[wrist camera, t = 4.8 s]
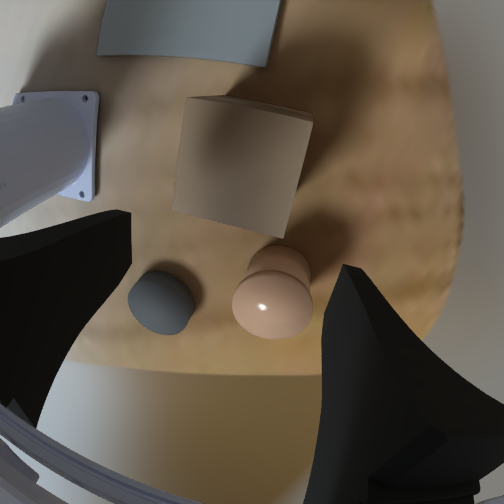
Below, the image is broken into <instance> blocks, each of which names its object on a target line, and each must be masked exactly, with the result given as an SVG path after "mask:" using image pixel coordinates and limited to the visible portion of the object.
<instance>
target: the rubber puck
mask: <svg viewBox="0 0 504 504" xmlns="http://www.w3.org/2000/svg"><path fill="white" fill-rule="evenodd" d="M128 304H129V308H130V310H131V312H132V314H133V315H134V317H135V318H136V319H137V320H138V321H139V322H140V323H141V324H142V325H143V326H144V327H146V328H147V329H149V330H151V331H153V332H155V333H158V334H163V335H174V334H178V333H180V332H181V331H182V330H183V329H184V328H185V327H186V325H187V323H188V321H189V319H190V317H191V315H192V313H193V311H194V299H193V296H192V294H191V292H190V290H189V289H188V288H187V286H186V285H185V284H184V283H183V282H182V281H181V280H179V279H178V278H176V277H175V276H173V275H171V274H168V273H166V272H161V271H152V272H148V273H146V274H144V275H143V276H142V277H141V278H140V279H139V280H138V281H137V283H136V284H135V285H134V286H133V287H132V289H131V290H130V292H129V295H128Z"/></svg>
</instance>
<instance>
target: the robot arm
mask: <svg viewBox="0 0 504 504" xmlns="http://www.w3.org/2000/svg"><path fill="white" fill-rule="evenodd" d="M86 96H87V97H88V100H87V101H86ZM24 98H25V100H24ZM98 106H99V95H98V93H97V92H95V91H45V92H25V93H16V94H15V95H14V97H13V105H11V106H6V107H2V108H0V228H1V227H2V226H4V225H6V224H7V223H9V222H10V221H12V220H13V219H15V218H17V217H18V216H20V215H21V214H23V213H25V212H26V211H28V210H30V209H31V208H33V207H35V206H36V205H38V204H40V203H42V202H43V201H45V200H47V199H49V198H50V197H52V196H54V195H56V194H58V195H62V196H66V197H70V198H74V199H78V200H83V201H87V202H90V201H92V200H93V199H94V198H95V153H96V132H97V118H98ZM83 192H84V194H85V196H84V195H83ZM131 264H132V245H131V213H130V212H125V211H121V210H109V211H104V212H100V213H96V214H93V215H89V216H86V217H82V218H79V219H75V220H72V221H69V222H65V223H62V224H58V225H55V226H51V227H48V228H44V229H41V230H37V231H33V232H29V233H25V234H20V235H15V236H10V237H3V238H0V435H2V436H3V437H4V438H6V439H7V440H8V441H10V442H11V443H12V444H14V445H15V446H16V447H18V448H19V449H20V450H22V451H23V452H25V453H26V454H27V455H29V456H30V457H32V458H33V459H35V460H36V461H38V462H39V463H41V464H42V465H44V466H46V467H47V468H49V469H51V470H52V471H54V472H55V473H57V474H59V475H60V476H62V477H64V478H65V479H67V480H69V481H71V482H72V483H74V484H76V485H78V486H80V487H82V488H84V489H86V490H88V491H89V492H91V493H93V494H95V495H97V496H99V497H102V498H104V499H106V500H108V501H110V502H112V503H114V504H204V503H200V502H197V501H193V500H190V499H186V498H183V497H180V496H177V495H174V494H171V493H168V492H165V491H162V490H159V489H156V488H153V487H151V486H148V485H145V484H143V483H140V482H138V481H135V480H133V479H130V478H128V477H125V476H123V475H121V474H119V473H117V472H114V471H112V470H110V469H108V468H106V467H103V466H101V465H99V464H97V463H95V462H93V461H91V460H89V459H87V458H85V457H83V456H81V455H79V454H78V453H76V452H74V451H72V450H70V449H69V448H67V447H65V446H63V445H61V444H60V443H58V442H56V441H55V440H53V439H51V438H50V437H48V436H46V435H45V434H43V433H42V432H40V431H38V430H37V429H36V427H37V424H38V420H39V417H40V414H41V411H42V409H43V406H44V403H45V400H46V397H47V395H48V393H49V390H50V388H51V386H52V383H53V381H54V379H55V376H56V374H57V372H58V371H59V368H60V366H61V364H62V362H63V361H64V359H65V357H66V355H67V353H68V352H69V350H70V348H71V346H72V345H73V343H74V341H75V340H76V338H77V336H78V335H79V333H80V332H81V331H82V329H83V328H84V326H85V325H86V324H87V323H88V321H89V320H90V319H91V318H92V316H93V315H94V314H95V313H96V312H97V310H98V309H99V308H100V307H101V305H102V304H103V303H104V302H105V301H106V299H107V298H108V297H109V296H110V295H111V293H112V292H113V291H114V290H115V289H116V287H117V286H118V285H119V283H120V282H121V280H122V279H123V277H124V276H125V274H126V272H127V271H128V269H129V267H130V266H131ZM321 346H322V408H321V416H320V424H319V431H318V437H317V443H316V449H315V455H314V460H313V465H312V470H311V474H310V478H309V483H308V487H307V491H306V495H305V499H304V502H303V504H474V497H473V495H476V494H478V493H479V492H480V483H479V480H480V479H481V478H483V477H484V476H486V475H487V474H489V473H490V472H492V471H493V470H495V469H496V468H497V467H499V466H500V465H501V464H503V463H504V404H502V403H500V402H499V401H497V400H495V399H494V398H492V397H490V396H489V395H487V394H485V393H484V392H482V391H481V390H480V389H478V388H477V387H475V386H474V385H473V384H471V383H470V382H468V381H467V380H466V379H464V378H463V377H462V376H460V375H459V374H458V373H457V372H455V371H454V370H453V369H452V368H451V367H449V366H448V365H447V364H446V363H445V362H444V361H442V360H441V359H440V358H439V357H438V356H437V355H436V354H435V353H433V352H432V351H431V350H430V349H429V348H428V347H427V346H426V345H425V344H424V343H423V342H422V341H421V340H420V339H419V338H418V337H417V336H416V335H415V333H414V332H413V331H412V330H411V329H410V328H409V327H408V326H407V324H406V323H405V322H404V321H403V320H402V319H401V318H400V316H399V315H398V314H397V313H396V311H395V310H394V309H393V308H392V307H391V305H390V304H389V303H388V301H387V300H386V299H385V298H384V296H383V295H382V294H381V292H380V291H379V290H378V289H377V287H376V286H375V285H374V283H373V282H372V281H371V279H370V278H369V277H368V276H367V275H366V273H365V272H364V271H363V270H362V269H361V268H357V267H353V266H349V265H345V264H343V266H342V268H341V271H340V274H339V276H338V279H337V282H336V284H335V287H334V289H333V292H332V295H331V297H330V300H329V302H328V305H327V307H326V310H325V312H324V319H323V328H322V338H321ZM38 479H39V475H38V473H37V472H35V471H34V470H33V469H32V468H30V467H29V466H28V465H27V464H26V463H24V462H23V461H22V460H21V459H20V458H19V457H18V456H17V455H16V454H15V453H14V452H13V451H12V450H11V449H10V448H9V446H8V445H7V444H6V443H5V442H4V441H3V440H2V439H0V504H68V503H67V502H65V501H63V500H61V499H60V498H58V497H56V496H55V495H53V494H52V493H50V492H48V491H47V490H45V489H44V488H42V487H41V486H39V485H38V484H36V482H37V481H38ZM477 504H504V495H502V496H499V497H495V498H491V499H488V500H485V501H482V502H479V503H477Z"/></svg>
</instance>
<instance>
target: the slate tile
mask: <svg viewBox="0 0 504 504" xmlns="http://www.w3.org/2000/svg"><path fill="white" fill-rule="evenodd" d="M281 1H282V0H107V1H106V5H105V10H104V14H103V19H102V24H101V29H100V34H99V39H98V45H97V51H96V56H113V55H144V56H170V57H185V58H196V59H206V60H215V61H223V62H231V63H238V64H244V65H251V66H257V67H262V68H267V64H268V59H269V55H270V50H271V45H272V41H273V36H274V32H275V28H276V23H277V19H278V14H279V10H280V6H281Z"/></svg>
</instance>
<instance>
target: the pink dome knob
mask: <svg viewBox="0 0 504 504" xmlns="http://www.w3.org/2000/svg"><path fill="white" fill-rule="evenodd" d="M310 276H311V273H310V267H309V264H308V262H307V260H306V259H305V257H304V256H303V255H302V254H301V253H299V252H298V251H296V250H295V249H293V248H290V247H287V246H282V245H273V246H268V247H265V248H263V249H261V250H259V251H258V252H257V253H256V254H255V255H254V256H253V257H252V259H251V260H250V263H249V265H248V268H247V271H246V274H245V276H244V279H243V280H242V281H241V282H240V283H239V285H238V286H237V289H236V291H235V293H234V296H233V299H232V310H233V313H234V316H235V318H236V320H237V321H238V322H239V324H240V325H241V326H242V327H243V328H244V329H246V330H247V331H249V332H250V333H252V334H254V335H256V336H259V337H262V338H266V339H285V338H289V337H292V336H295V335H297V334H298V333H300V332H301V331H303V330H304V329H305V328H306V327H307V325H308V324H309V322H310V320H311V317H312V309H313V301H312V297H311V294H310Z"/></svg>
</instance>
